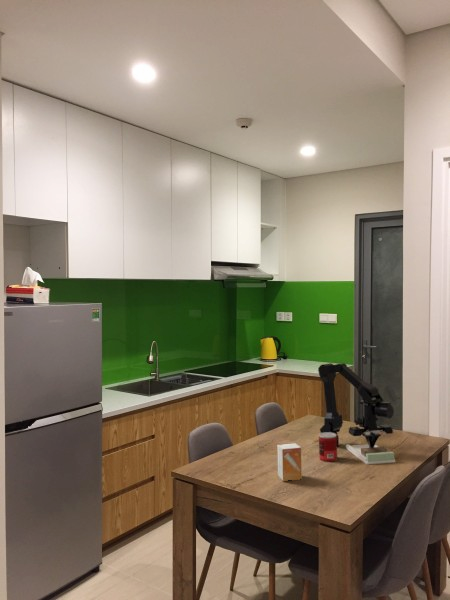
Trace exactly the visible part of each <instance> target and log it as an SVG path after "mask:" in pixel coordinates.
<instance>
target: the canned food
mask: <svg viewBox="0 0 450 600" xmlns="http://www.w3.org/2000/svg"><path fill="white" fill-rule="evenodd" d="M318 453H319V455H318V457H319V460H320V461H322V462H327V463H329V462H330V463H332V462H335V461H337V459H338V447H337V436H336V434H335V433H330V432H324V433H321V432H320V433H319V434H318Z"/></svg>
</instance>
